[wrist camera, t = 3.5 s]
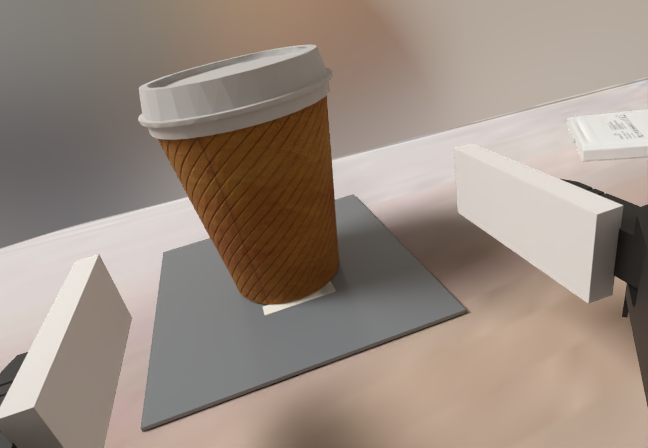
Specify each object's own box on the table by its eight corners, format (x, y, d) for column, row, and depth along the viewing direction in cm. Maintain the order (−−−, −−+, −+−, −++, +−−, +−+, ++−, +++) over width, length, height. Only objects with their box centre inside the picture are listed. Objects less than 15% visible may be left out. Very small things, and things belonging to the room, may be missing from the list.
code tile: (142, 431, 18) (140, 428, 18) (164, 254, 32) (163, 252, 32) (465, 312, 20) (465, 309, 20) (353, 196, 34) (353, 194, 34)
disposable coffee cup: (290, 221, 32) (244, 51, 27) (398, 249, 26) (367, 34, 20) (180, 293, 26) (94, 95, 21) (284, 351, 20) (199, 90, 15)
